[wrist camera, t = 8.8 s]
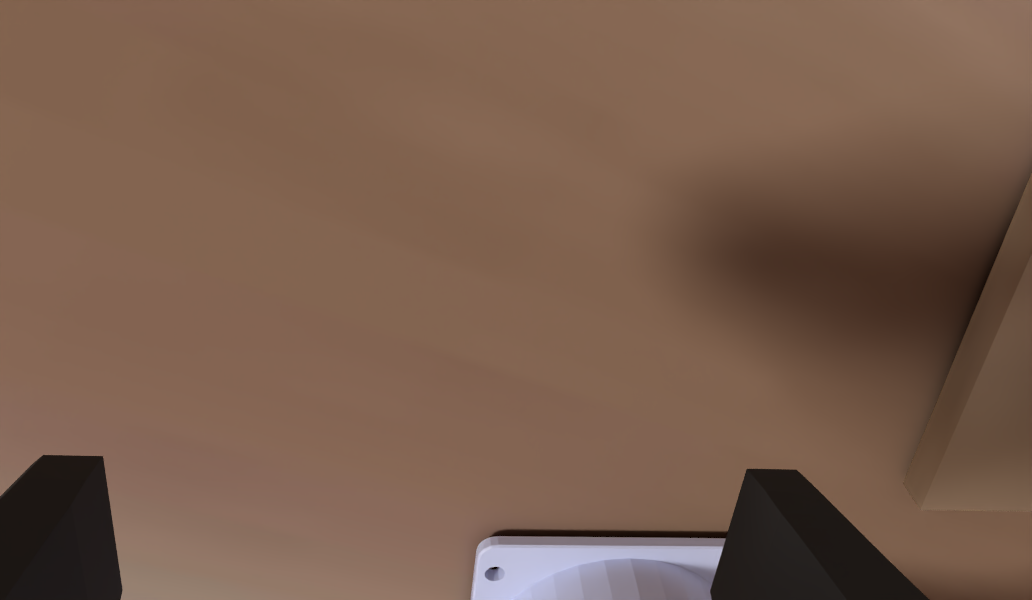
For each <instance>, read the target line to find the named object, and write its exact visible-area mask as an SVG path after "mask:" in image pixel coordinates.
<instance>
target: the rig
mask: <svg viewBox="0 0 1032 600" xmlns="http://www.w3.org/2000/svg"><path fill="white" fill-rule="evenodd" d="M903 484H904V485H905V487H906V489H907V490H908V492H909V493H910V495H911V496H912V498H913V500H914V501H915V503H916V504H917V506H918V508H919V509H920V510H953V511H1026V512H1032V173H1031V176H1030V178H1029V181H1028V183H1027V185H1026V188H1025V190H1024V193H1023V195H1022V197H1021V200H1020V202H1019V205H1018V207H1017V209H1016V212H1015V214H1014V217H1013V219H1012V221H1011V224H1010V226H1009V229H1008V231H1007V234H1006V236H1005V238H1004V241H1003V243H1002V246H1001V248H1000V250H999V253H998V255H997V258H996V260H995V262H994V265H993V267H992V270H991V272H990V274H989V277H988V279H987V282H986V284H985V287H984V289H983V291H982V294H981V296H980V299H979V301H978V303H977V306H976V308H975V311H974V313H973V315H972V318H971V320H970V323H969V325H968V328H967V330H966V332H965V335H964V337H963V340H962V342H961V344H960V347H959V349H958V352H957V354H956V356H955V359H954V361H953V364H952V366H951V368H950V371H949V373H948V376H947V378H946V381H945V383H944V385H943V388H942V390H941V393H940V395H939V397H938V400H937V402H936V405H935V407H934V409H933V412H932V414H931V417H930V419H929V422H928V424H927V426H926V429H925V431H924V434H923V436H922V438H921V441H920V443H919V446H918V448H917V450H916V453H915V455H914V458H913V460H912V462H911V465H910V467H909V470H908V472H907V475H906V477H905V479H904V482H903Z"/></svg>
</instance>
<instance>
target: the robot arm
mask: <svg viewBox="0 0 1032 600" xmlns="http://www.w3.org/2000/svg"><path fill="white" fill-rule="evenodd" d="M491 567H500V568H498V569H494V570H492V569H489V568H491ZM121 594H122V584H121V577H120V570H119V564H118V557H117V550H116V543H115V536H114V529H113V522H112V516H111V509H110V502H109V495H108V488H107V481H106V474H105V468H104V461H103V456H62V455H43V456H41V457H40V458H39V459H38V460H37V461H35V462H34V463H33V464H32V465H31V466H30V467H29V468H28V469H27V470H26V471H25V472H24V473H23V474H22V475H21V476H20V477H19V478H18V479H17V480H16V481H15V482H14V483H13V484H12V485H11V486H10V487H9V488H8V489H7V490H6V491H5V492H4V493H3V494H2V495H1V496H0V600H120V599H121ZM471 600H929V599H928V598H927V597H926V596H925V595H924V594H923V593H922V592H921V591H920V590H919V589H918V588H916V587H915V586H914V585H913V584H912V583H911V582H910V581H909V580H908V579H907V578H906V577H905V576H904V575H903V574H902V573H901V572H900V571H899V570H898V569H897V568H896V567H895V566H894V565H893V564H892V563H891V562H890V561H889V560H888V559H887V558H886V557H885V556H884V555H883V554H882V553H881V552H880V551H879V550H878V549H877V548H876V547H874V546H873V545H872V544H871V543H870V542H869V541H868V540H867V539H866V538H865V537H864V536H863V535H862V534H861V533H860V532H859V531H858V530H857V529H856V528H855V527H854V526H853V525H852V524H851V523H850V522H849V521H848V520H847V519H846V518H845V517H844V516H843V515H842V514H841V513H840V512H839V511H838V510H837V509H836V508H835V507H834V506H833V505H832V504H831V503H830V502H829V501H828V500H827V499H826V498H825V497H824V496H823V495H822V494H821V493H820V492H819V491H818V490H817V489H816V488H815V487H814V486H813V485H812V484H811V483H810V482H809V481H808V480H807V479H806V478H805V477H804V476H803V475H802V474H800V473H799V472H798V471H797V470H781V469H747V470H746V473H745V477H744V480H743V483H742V487H741V490H740V493H739V497H738V500H737V503H736V507H735V510H734V513H733V516H732V520H731V523H730V526H729V530H728V533H727V536H726V538H641V537H533V536H495V537H489V538H487V539H485V540H483V541H482V542H481V543H480V544H479V545H478V547H477V550H476V558H475V567H474V575H473V583H472V592H471Z"/></svg>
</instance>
